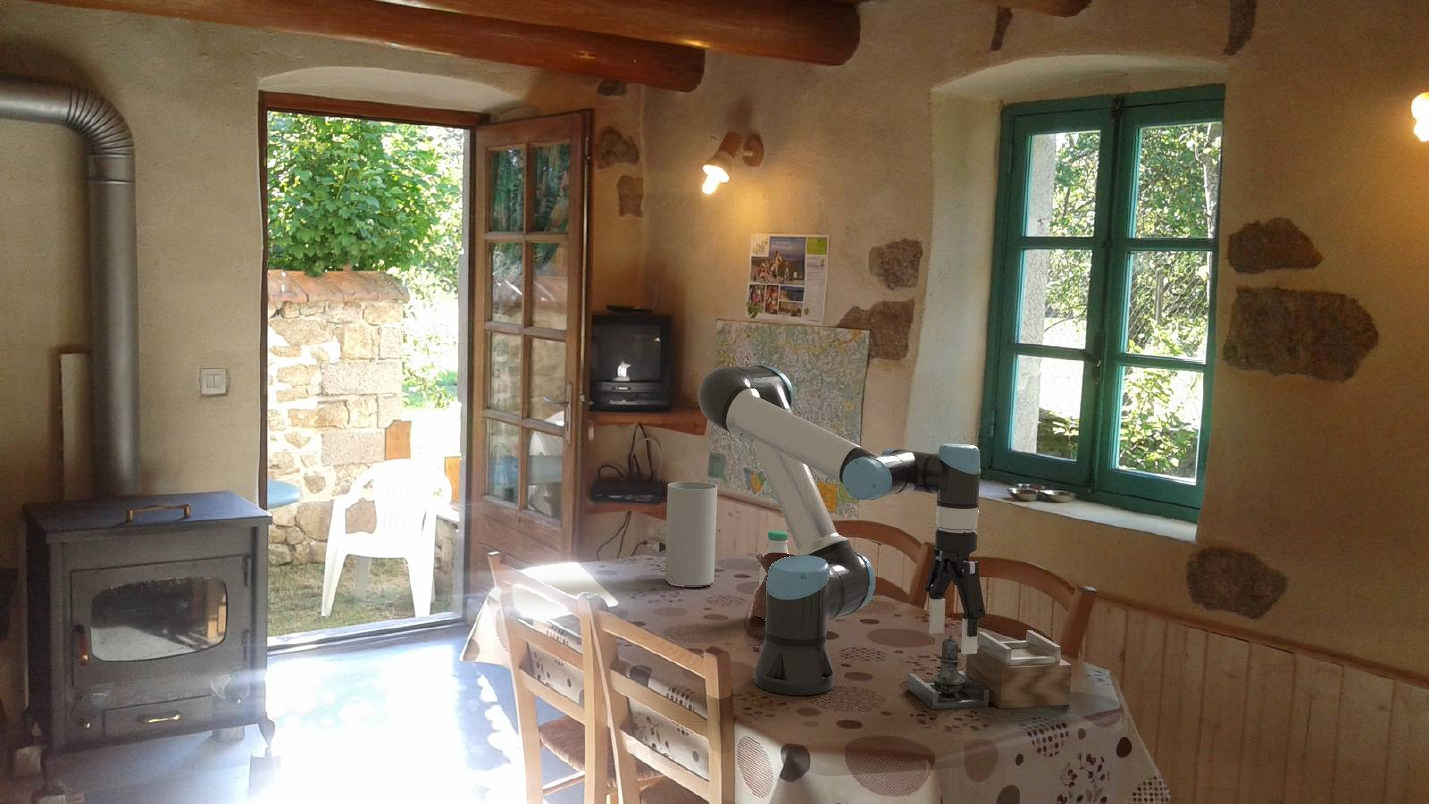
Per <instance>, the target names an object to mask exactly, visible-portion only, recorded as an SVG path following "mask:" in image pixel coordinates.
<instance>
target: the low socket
mask: <svg viewBox="0 0 1429 804" xmlns="http://www.w3.org/2000/svg"><path fill="white" fill-rule="evenodd" d="M957 671H958V670H957ZM958 676H960V677H962V678H963V679H964V680H965V682H964V683H963V686H962V688H961V690H960V691H961V692H963V693H964V694H966V695H967V696H969V698H971V699H962V700H956V701H939V700H938V692H939V691H938V690H937V689H936V688H935V685H934V682H925V681H924V680H923V679H921V678H920V677H919V676H918V675H916V674H915V673H908V678H907V679H908V681H907V683H908V684H907V690H908V691H909V692H911V693H912V694H913V695H914V696H916V697H917V698H918V699H920V701H922V703H924V704H926V705H927V706H928V707H929V708H930V709H932V710H941V709H942V710H944V709H961V708H978V707H979V708H980V707H989V703H990V701H989V689H987V688H986V687H984V686H983V685H981V684H980V683H979V682H977V681H976V680H974V679H973V678H971V677H970V676H968V675H967V674H966V672H964V671H961V670H960V671H958Z"/></svg>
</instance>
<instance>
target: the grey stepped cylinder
mask: <svg viewBox="0 0 1429 804" xmlns="http://www.w3.org/2000/svg"><path fill="white" fill-rule="evenodd" d="M941 647H942V648H941V656H939V660H940V670H939V673H937V674H934V675H932V680H933V683H934V685H935V688H936V689H937V690H936V691H937V692H938V701H956V700H963V697H962V696H961V695H959V694H958V693H959V692H960V691H962V690H961V688H962V686H963V683H964V682H965V680H964V679H963V678H962V677H960V676H958V665H959V661H960V660H961V659H960V658H959V657H958V656H959V642H958V641H957V640H956V639H954V638H953V634H949V636H948V638H946V639H944V640H943V641H942V646H941Z"/></svg>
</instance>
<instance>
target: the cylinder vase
mask: <svg viewBox="0 0 1429 804" xmlns="http://www.w3.org/2000/svg"><path fill="white" fill-rule="evenodd" d="M666 498H667V499H666V533H665V534H666V536H665V562H664V567H665V568H664V580H665V579H666V580H667V581H668V582H671V583H673V584H678V585H706V584H709V583H711V582H713V581H714V582H715V563H716V534H717V533H716V531H717V508H718V507H717V506H718V504H717V503H718V485H716V484H715V483H712V482H711V483H708V482H702V481H701V482H700V481H674V482H670V483H668V484H667V497H666ZM714 582H713V583H714Z"/></svg>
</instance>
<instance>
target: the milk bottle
mask: <svg viewBox="0 0 1429 804" xmlns="http://www.w3.org/2000/svg"><path fill="white" fill-rule="evenodd" d="M767 538H768V539H767V541H768V547H767V549H766V551H765V554H764V555H766V554H768V553H772V552H783V553H787V554H789V555H790V553H789V550H788V549H789V548H788V542H789V532H788V531H785V530H777V529H775V530H768V532H767ZM759 567H760V568H759V580H758V581H759V583H758V587H759V586H760V585H761V584H762V582H763V580H764V578H765V576H766V572H765V569H764V568H763V567H762V565H761V564H760V566H759Z"/></svg>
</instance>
